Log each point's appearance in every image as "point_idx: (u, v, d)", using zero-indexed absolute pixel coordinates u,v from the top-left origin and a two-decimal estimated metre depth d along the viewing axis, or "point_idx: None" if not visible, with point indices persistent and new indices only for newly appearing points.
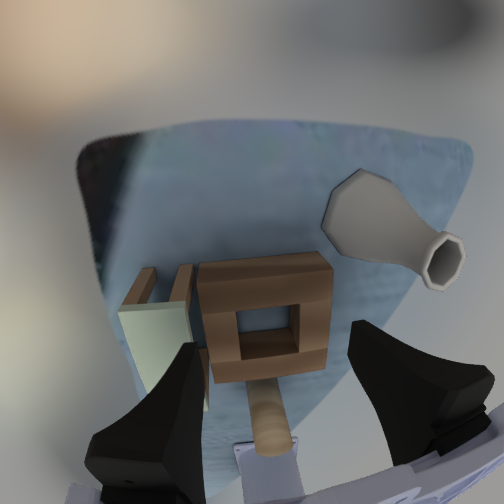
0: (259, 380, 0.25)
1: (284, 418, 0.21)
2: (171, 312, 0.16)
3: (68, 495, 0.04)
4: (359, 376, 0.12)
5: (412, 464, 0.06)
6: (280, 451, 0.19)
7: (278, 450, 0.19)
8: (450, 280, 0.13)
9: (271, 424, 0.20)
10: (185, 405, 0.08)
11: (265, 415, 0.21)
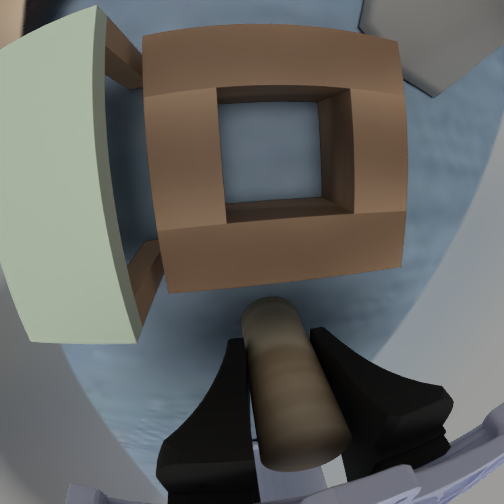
0: (266, 310, 0.13)
1: (325, 380, 0.09)
2: (69, 21, 0.04)
3: (68, 495, 0.04)
4: None
5: None
6: (318, 460, 0.08)
7: (314, 456, 0.08)
8: None
9: (299, 392, 0.08)
10: None
11: (283, 373, 0.09)
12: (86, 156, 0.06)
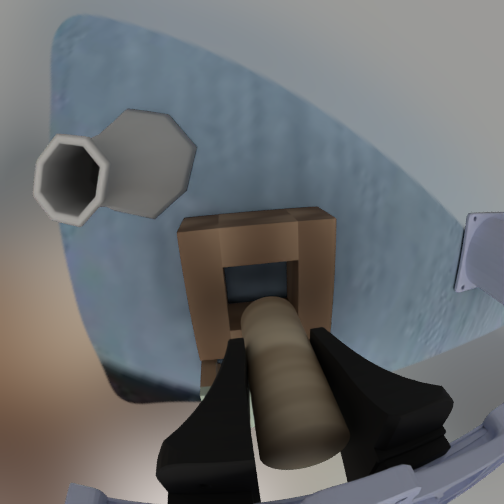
0: (264, 310, 0.13)
1: (323, 377, 0.10)
2: None
3: (68, 495, 0.04)
4: None
5: None
6: (319, 456, 0.08)
7: (314, 453, 0.08)
8: (90, 155, 0.08)
9: (295, 391, 0.09)
10: None
11: (279, 372, 0.10)
12: None
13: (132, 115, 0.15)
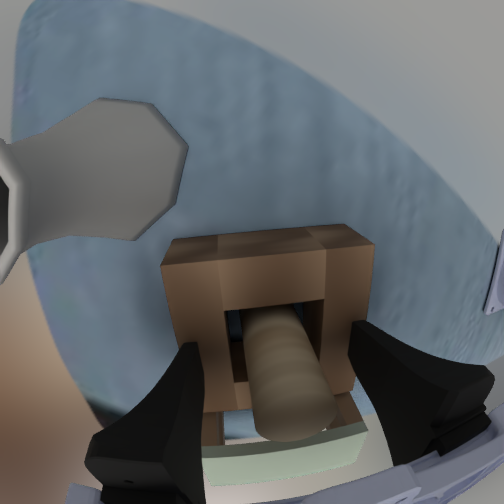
0: None
1: (313, 355, 0.11)
2: (205, 464, 0.12)
3: (68, 495, 0.04)
4: (359, 376, 0.12)
5: (412, 464, 0.06)
6: (310, 429, 0.09)
7: (305, 425, 0.09)
8: None
9: (287, 364, 0.10)
10: (185, 405, 0.08)
11: (273, 349, 0.11)
12: (277, 453, 0.12)
13: (102, 105, 0.10)
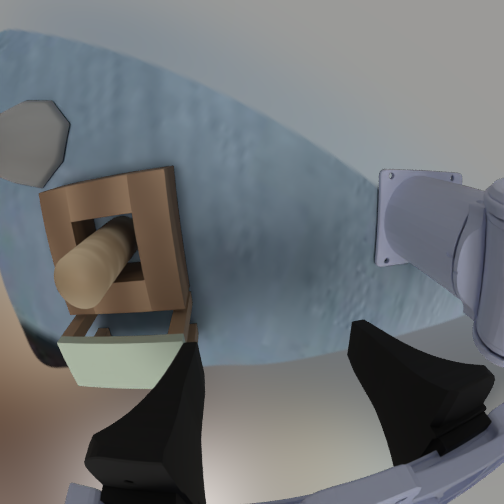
0: (109, 221, 0.18)
1: (107, 246, 0.15)
2: (63, 351, 0.16)
3: (68, 495, 0.04)
4: (359, 376, 0.12)
5: (412, 464, 0.06)
6: (90, 296, 0.13)
7: (85, 290, 0.13)
8: None
9: (81, 245, 0.13)
10: (185, 405, 0.08)
11: (84, 240, 0.14)
12: (107, 346, 0.16)
13: (22, 105, 0.14)
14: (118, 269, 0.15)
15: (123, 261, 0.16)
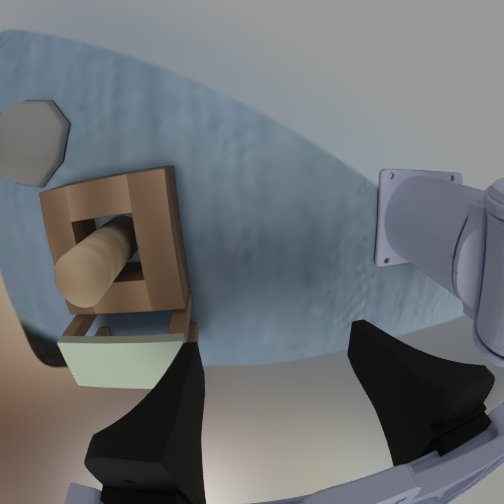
0: (109, 221, 0.18)
1: (108, 245, 0.15)
2: (63, 351, 0.16)
3: (68, 495, 0.04)
4: (359, 376, 0.12)
5: (412, 464, 0.06)
6: (90, 295, 0.13)
7: (85, 289, 0.13)
8: None
9: (81, 244, 0.13)
10: (185, 405, 0.08)
11: (84, 239, 0.14)
12: (107, 346, 0.16)
13: (22, 104, 0.14)
14: (118, 268, 0.15)
15: (123, 260, 0.16)
